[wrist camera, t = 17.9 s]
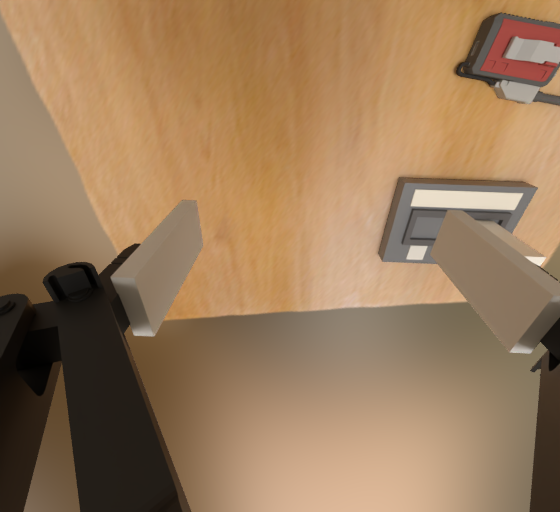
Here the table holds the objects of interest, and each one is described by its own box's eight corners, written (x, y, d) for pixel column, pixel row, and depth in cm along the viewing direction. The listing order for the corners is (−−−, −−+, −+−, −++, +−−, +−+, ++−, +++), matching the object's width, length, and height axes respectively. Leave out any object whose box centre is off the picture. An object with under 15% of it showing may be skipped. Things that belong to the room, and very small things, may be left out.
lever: (474, 219, 47) (524, 256, 37) (492, 220, 47) (546, 257, 37) (465, 239, 49) (510, 278, 39) (482, 239, 49) (530, 279, 39)
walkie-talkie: (444, 89, 40) (567, 112, 41) (459, 90, 36) (594, 115, 37) (476, 12, 35) (615, 40, 36) (497, 4, 31) (652, 35, 32)
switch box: (399, 177, 47) (406, 184, 44) (524, 182, 47) (541, 189, 43) (378, 253, 56) (383, 263, 53) (484, 257, 55) (495, 268, 52)
